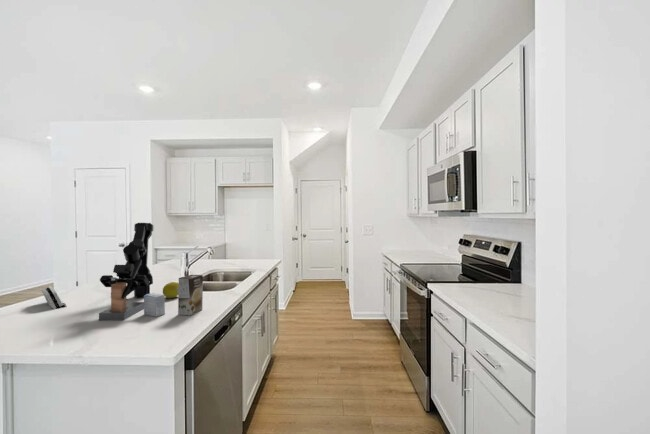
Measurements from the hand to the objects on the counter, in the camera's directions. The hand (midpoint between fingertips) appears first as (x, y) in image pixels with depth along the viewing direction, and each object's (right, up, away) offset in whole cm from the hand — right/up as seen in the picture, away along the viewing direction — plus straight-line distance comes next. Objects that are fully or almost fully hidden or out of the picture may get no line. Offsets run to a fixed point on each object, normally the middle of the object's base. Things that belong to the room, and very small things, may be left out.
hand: (116, 298), depth 134 cm
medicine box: (+13, -8, +4) cm, 16 cm away
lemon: (+8, -8, +32) cm, 34 cm away
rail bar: (0, -8, +4) cm, 9 cm away
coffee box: (+28, -9, +8) cm, 30 cm away
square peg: (0, -7, +1) cm, 7 cm away
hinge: (-42, -8, +17) cm, 46 cm away
